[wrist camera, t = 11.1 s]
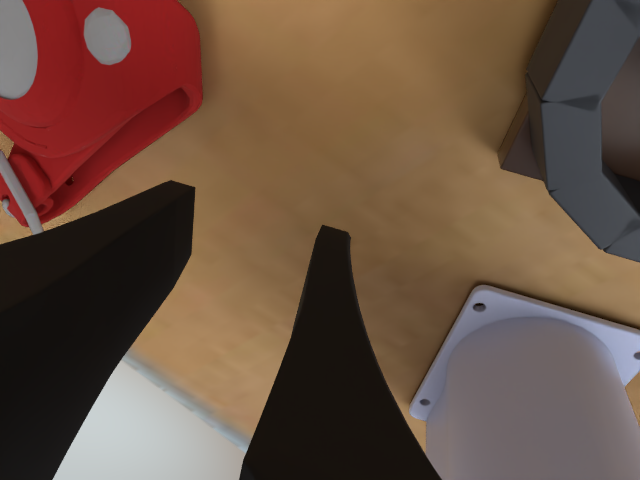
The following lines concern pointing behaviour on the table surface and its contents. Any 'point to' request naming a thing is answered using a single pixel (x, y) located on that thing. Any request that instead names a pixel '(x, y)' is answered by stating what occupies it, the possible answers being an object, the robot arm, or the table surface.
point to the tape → (584, 117)
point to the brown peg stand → (617, 128)
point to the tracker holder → (87, 93)
